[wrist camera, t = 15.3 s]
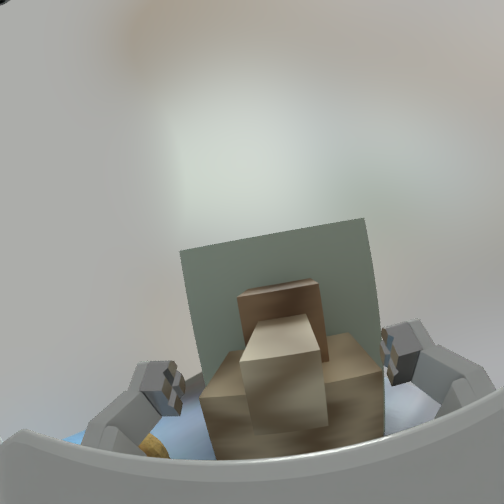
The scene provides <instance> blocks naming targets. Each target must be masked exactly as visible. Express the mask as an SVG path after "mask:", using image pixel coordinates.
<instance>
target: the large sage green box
mask: <svg viewBox="0 0 504 504" xmlns="http://www.w3.org/2000/svg"><path fill="white" fill-rule="evenodd" d="M180 257H181V263H182V270H183V276H184V281H185V287H186V293H187V299H188V304H189V310H190V314H191V320H192V325H193V330H194V335H195V340H196V344H197V349H198V354H199V358H200V362H201V367H202V372H203V376H204V380H205V385H206V386H207V385H208V383H209V382H210V380H211V379H212V377H213V376H214V374H215V373H216V371H217V370H218V368H219V367H220V365H221V363H222V362H223V360H224V359H225V357H226V356H227V354H228V353H229V351H237V350H245V348H246V347H245V341H244V336H243V331H242V325H241V320H240V314H239V309H238V303H237V297H238V296H239V295H240V294H242V293H243V292H245V291H246V290H247V289H250V288H256V287H262V286H268V285H274V284H280V283H285V282H291V281H297V280H302V279H308V278H311V279H313V280H314V281H316V282H317V283H319V289H320V295H321V302H322V309H323V315H324V322H325V330H326V337H327V336H332V335H337V334H342V333H347V332H349V333H350V334H351V335H352V336H353V338H354V339H355V340H356V341H357V342H358V343H359V344H360V345H361V347H362V348H363V349H364V350H365V351H366V352H367V353H368V355H369V356H370V357H371V358H372V359H373V360H374V361H375V362H376V364H377V365H378V366H379V367H380V368H381V369H382V371H383V401H384V430H383V433H384V432H385V391H384V367H383V363H382V360H381V357H380V342H381V341H382V338H381V328H380V317H379V309H378V308H379V307H378V299H377V291H376V284H375V277H374V270H373V264H372V258H371V252H370V246H369V241H368V235H367V230H366V225H365V220H364V218H360V219H354V220H348V221H342V222H336V223H330V224H324V225H319V226H313V227H307V228H301V229H296V230H290V231H285V232H279V233H273V234H268V235H262V236H257V237H252V238H246V239H240V240H235V241H230V242H225V243H219V244H214V245H208V246H203V247H198V248H193V249H187V250H183V251H180Z"/></svg>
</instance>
